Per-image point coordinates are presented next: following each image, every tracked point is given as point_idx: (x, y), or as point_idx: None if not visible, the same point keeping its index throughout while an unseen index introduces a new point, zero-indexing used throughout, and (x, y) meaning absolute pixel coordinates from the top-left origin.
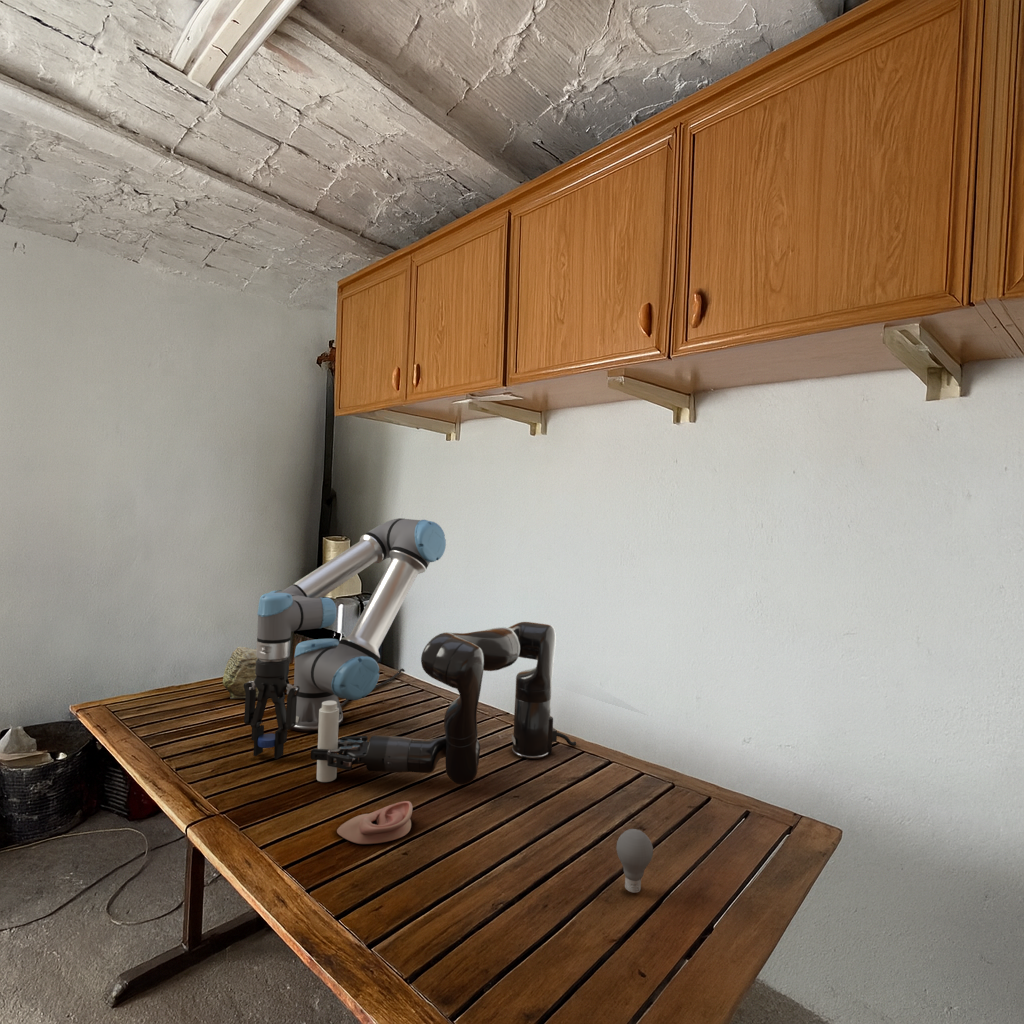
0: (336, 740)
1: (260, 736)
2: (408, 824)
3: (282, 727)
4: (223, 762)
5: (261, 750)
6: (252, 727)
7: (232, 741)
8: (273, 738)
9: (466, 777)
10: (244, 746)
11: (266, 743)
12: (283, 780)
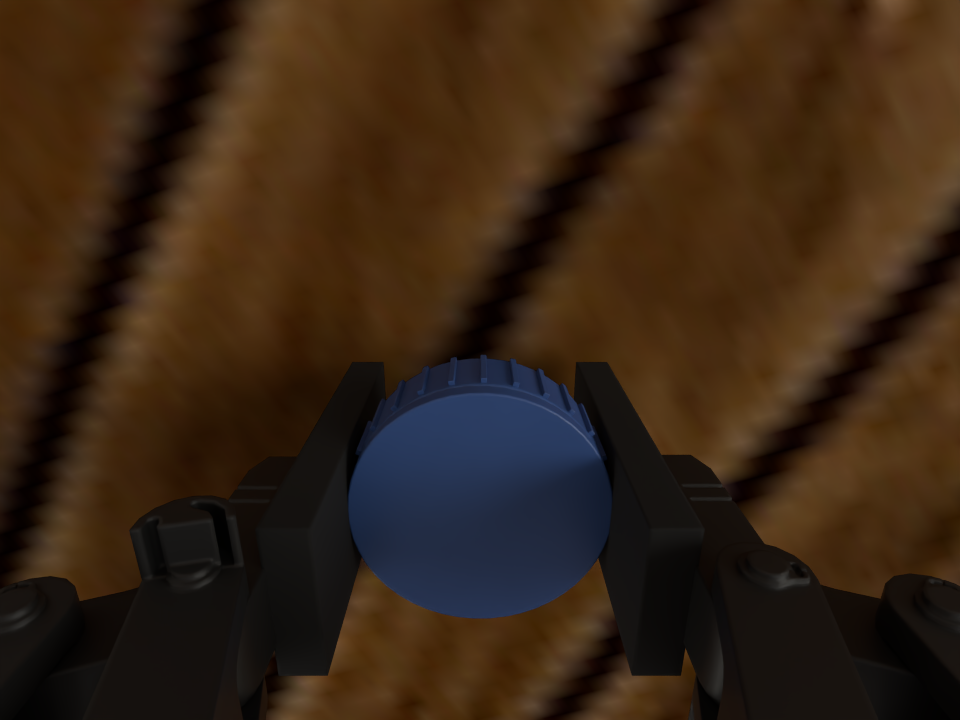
0: None
1: (595, 500)
2: None
3: (142, 596)
4: (839, 214)
5: None
6: (758, 547)
7: None
8: (396, 494)
9: None
10: (808, 551)
11: (434, 387)
12: (26, 3)
